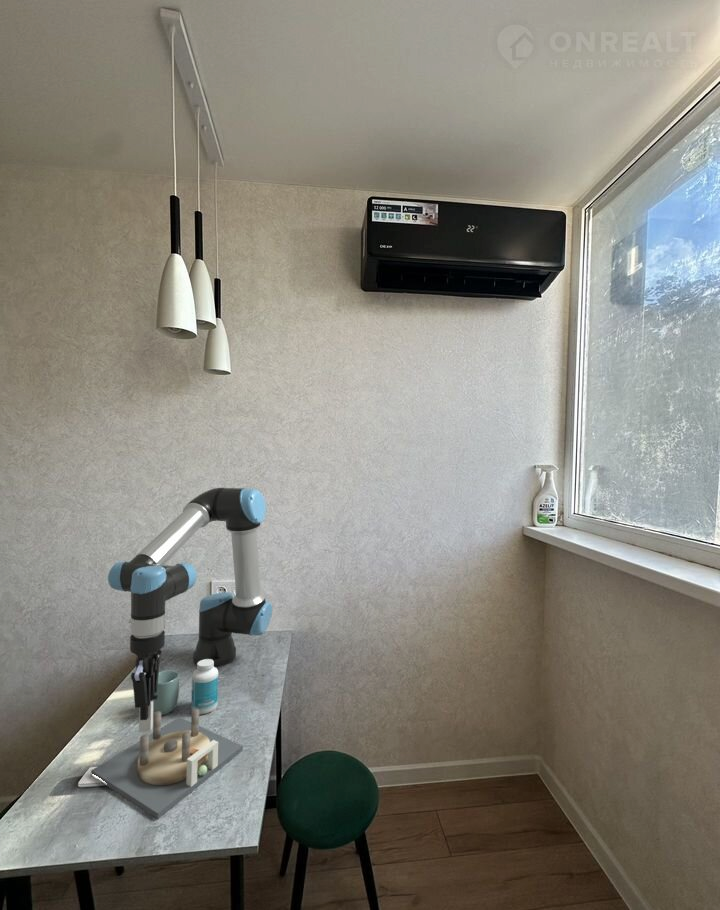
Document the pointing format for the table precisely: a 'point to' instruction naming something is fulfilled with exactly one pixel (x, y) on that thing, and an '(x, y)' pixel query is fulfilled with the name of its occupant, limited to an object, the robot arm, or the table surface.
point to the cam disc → (170, 752)
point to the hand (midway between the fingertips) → (145, 729)
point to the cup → (166, 692)
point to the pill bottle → (205, 687)
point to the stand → (164, 797)
